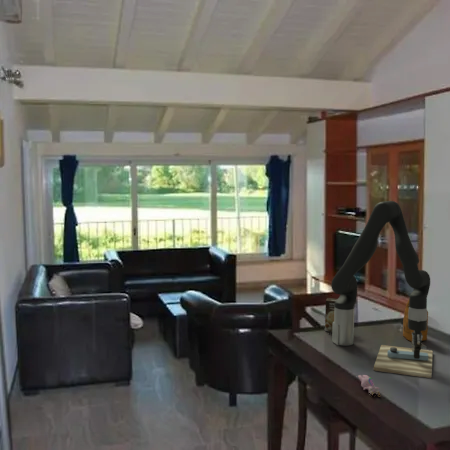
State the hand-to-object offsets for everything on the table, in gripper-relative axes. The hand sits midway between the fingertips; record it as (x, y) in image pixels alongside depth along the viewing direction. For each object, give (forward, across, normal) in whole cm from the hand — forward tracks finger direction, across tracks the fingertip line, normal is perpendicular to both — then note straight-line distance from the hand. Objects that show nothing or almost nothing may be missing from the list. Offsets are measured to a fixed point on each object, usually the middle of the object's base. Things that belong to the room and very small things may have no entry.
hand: (416, 358), depth 230 cm
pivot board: (+3, -3, -5) cm, 6 cm away
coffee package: (+3, -38, +3) cm, 39 cm away
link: (+1, -3, -3) cm, 5 cm away
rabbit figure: (+4, +31, -20) cm, 37 cm away
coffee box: (+2, -43, -36) cm, 56 cm away
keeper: (+2, -12, +2) cm, 12 cm away
